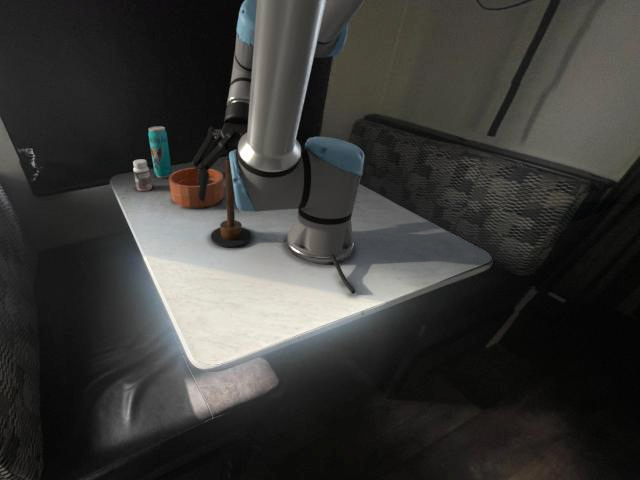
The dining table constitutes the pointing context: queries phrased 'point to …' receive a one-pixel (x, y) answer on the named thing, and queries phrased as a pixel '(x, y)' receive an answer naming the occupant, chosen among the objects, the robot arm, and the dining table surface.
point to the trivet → (225, 243)
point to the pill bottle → (142, 175)
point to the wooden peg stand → (230, 210)
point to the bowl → (195, 188)
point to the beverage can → (160, 151)
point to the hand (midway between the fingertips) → (228, 201)
